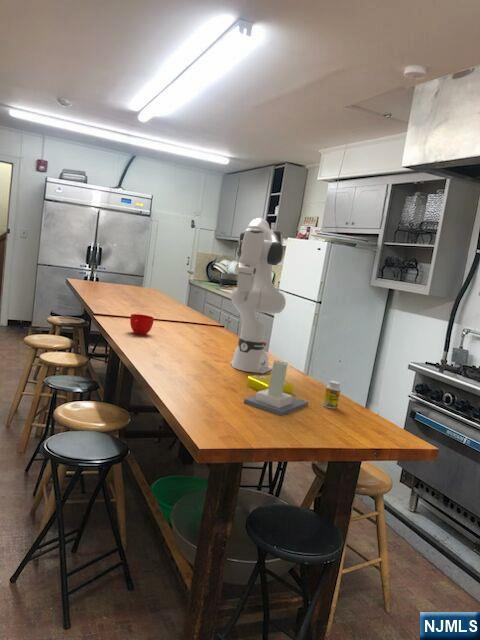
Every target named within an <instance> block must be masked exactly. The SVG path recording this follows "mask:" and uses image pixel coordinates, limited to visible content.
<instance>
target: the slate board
mask: <svg viewBox="0 0 480 640" xmlns="http://www.w3.org/2000/svg"><path fill="white" fill-rule="evenodd" d="M268 390H269V389H266V390H262V391H257V392H256V394H255V395H253V396H250V397H246V398H244V400H243V403H244V404H247V405H249V406H252V407H255V408H258V409H260V410H264V411H267V412H269V413H272V414H275V415H277V416H281V417H283V416H285V415H288V414H291V413H293V412H296V411H298V410H300V409H302V408H306V407H308V406H309V401H306V400H303V399H301V398H298V397H294V396H293V394H290V395H289V394H286V393H283V392H282V396H281V397H278V396H274V395H269V394H268Z"/></svg>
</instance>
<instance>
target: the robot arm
mask: <svg viewBox="0 0 480 640" xmlns="http://www.w3.org/2000/svg"><path fill="white" fill-rule="evenodd" d="M283 244H284V238H283V235H282V232H281V231H280V230H277V229H273V230H272V229H270V225H269V222H268V221H267V220H266V219H265V218H263V217H257V218H254V219H252V220H251V221H250V222H249V223H248V225H247V227H246V229H245V230H244V231H242V232H240V234H239V236H238V245H239V246H238V251H237V252H238V254H239V256H240V257H239V260H238V265H237V273H238V274H237V275H238V276H237V285H236V286H237V287H235V288H234V289H233V290H232V293H231V296H230V300H231V303H232V305H233V306H234V308H236V310H237V311H238V313H239V315H240V319H241V330H240V335H239V338H238V342H237V345H238V346H237V347H235V350H234V354H233V356H232V357H233V358H232V360H231V361H230V362H229V364H230V365H231V366H232V368H234V369H236V370H240V371H243V372H249V373H257V374H265V373H267V372H269V371H272V368H273V366H270V365H269V358H270V357H269V355H268V354H267V352H266V351H265V350H264V349H265V347H266V346H267V344H268V342H267V341H264V338H265V337H264V336H265V332H266V326H265V323H264V322H263V321H262V320H261V319H260V318H258V317H257V316H256V315H255V312H258V313H264V314H272V315H273V314H274V315H275V314H281V312H283V311H284V309H285V307H286V304H287V303H286V301H287V300H286V298H285V296H284V294H283V293H281V291H279V290H278V289H277V288H276V287H275V285H274V283H273V281H272V278H273V277H272V273H273V269H272V268H273V266H276V265H278V264H280V263H282V260H283V257H284V253H285V251H284V247H283Z"/></svg>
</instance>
